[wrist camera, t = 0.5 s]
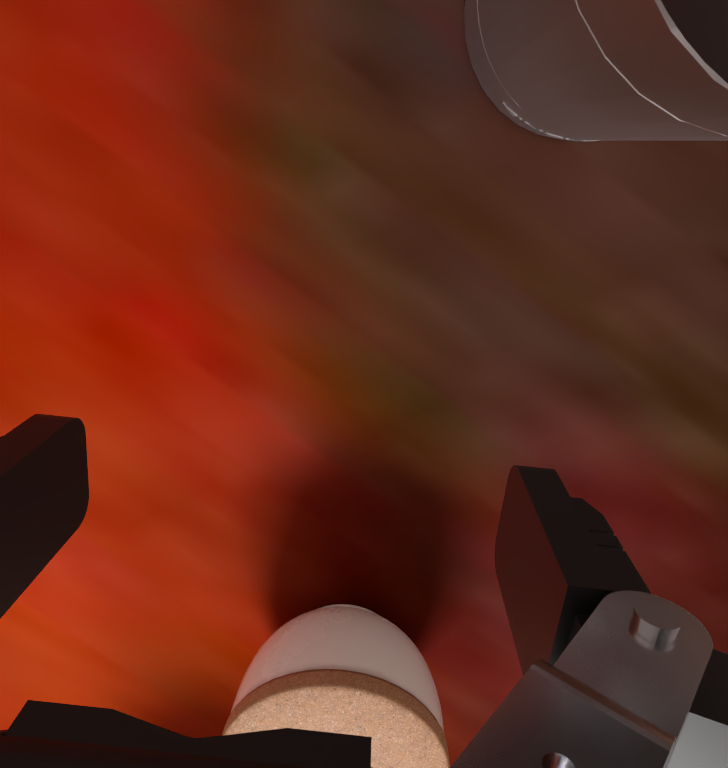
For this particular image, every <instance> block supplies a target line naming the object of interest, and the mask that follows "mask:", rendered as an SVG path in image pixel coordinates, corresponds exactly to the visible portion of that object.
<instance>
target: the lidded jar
mask: <svg viewBox="0 0 728 768" xmlns="http://www.w3.org/2000/svg"><path fill="white" fill-rule="evenodd" d="M282 728H293V729H302V730H311V731H321V732H330V733H339V734H349V735H358V736H367V737H372V740H371V767H373V768H450V765H449V756H448V747H447V742H446V739H445V736H444V729H443V721H442V713H441V706H440V702H439V698H438V694H437V690H436V687H435V684H434V681H433V678H432V676H431V673H430V670H429V668H428V665H427V664H426V662H425V660H424V658H423V656H422V655H421V653H420V652H419V650H418V648H417V647H416V646H415V644H414V643H413V642H412V641H411V639H410V638H409V637H408V636H407V635H406V634H405V633H404V632H403V631H401V630H400V629H399V628H398V627H397V626H396V625H394V624H393V623H391V622H390V621H388V620H387V619H385V618H383V617H381V616H379V615H378V614H376V613H375V612H373V611H371V610H369V609H367V608H364V607H360V606H356V605H351V604H332V605H327V606H323V607H320V608H318V609H315V610H312V611H309V612H306V613H304V614H301V615H299V616H297V617H295V618H293V619H292V620H290V621H289V622H287V623H286V624H284V625H283V626H282V627H280V628H279V629H278V630H276V631H275V632H274V633H273V634H272V635H271V636H270V638H269V639H268V640H267V641H266V642H265V643H264V644H263V645H262V646H261V648H260V649H259V651H258V652H257V654H256V655H255V657H254V659H253V660H252V662H251V664H250V665H249V667H248V669H247V671H246V673H245V675H244V677H243V680H242V682H241V684H240V687H239V689H238V692H237V695H236V697H235V701H234V704H233V707H232V710H231V713H230V716H229V717H228V719H227V722H226V725H225V727H224V730H223V732H222V736H223V735H231V734H240V733H248V732H257V731H265V730H274V729H282Z"/></svg>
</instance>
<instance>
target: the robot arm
mask: <svg viewBox="0 0 728 768" xmlns="http://www.w3.org/2000/svg"><path fill="white" fill-rule="evenodd" d="M464 24H465V41H466V45H467V49H468V53H469V57H470V61H471V65H472V68H473V70H474V72H475V74H476V76H477V78H478V80H479V82H480V84H481V87H482V89H483V90H484V92H485V93H486V94H487V96H488V97H489V98H490V99H491V101H492V102H493V103H494V104H495V106H496V107H497V108H498V110H500V111H501V112H502V113H503V114H505V115H506V116H507V117H508V118H510V119H511V120H512V121H513V122H515V123H516V124H517V125H519V126H521V127H523V128H525V129H528V130H530V131H532V132H534V133H536V134H538V135H542V136H547V137H552V138H557V139H562V140H570V141H599V140H710V141H728V0H465V7H464ZM88 501H89V486H88V468H87V451H86V434H85V427H84V424H83V422H82V421H81V420H80V419H79V418H72V417H62V416H53V415H43V414H35V415H33V416H32V417H30V418H29V419H27V420H26V421H24V422H23V423H22V424H20V425H19V426H17V427H16V428H14V429H13V430H12V431H10V432H9V433H7V434H6V435H4V436H2V437H0V618H1V617H2V616H3V615H4V614H5V613H6V611H7V610H8V609H9V608H10V607H11V606H12V604H13V603H14V602H15V601H16V600H17V599H18V597H19V596H20V595H21V594H22V593H23V592H24V590H25V589H26V588H27V587H28V586H29V585H30V583H31V582H32V581H33V580H34V579H35V578H36V576H37V575H38V574H39V573H40V572H41V571H42V570H43V568H44V567H45V566H46V565H47V564H48V563H49V561H50V560H51V559H52V558H53V557H54V556H55V554H56V553H57V552H58V551H59V550H60V549H61V547H62V546H63V545H64V544H65V543H66V542H67V540H68V539H69V538H70V537H71V536H72V535H73V533H74V532H75V531H76V530H77V529H78V528H79V526H80V525H81V523H82V521H83V519H84V517H85V514H86V511H87V506H88ZM495 569H496V574H497V578H498V582H499V585H500V589H501V593H502V597H503V601H504V604H505V608H506V612H507V616H508V620H509V623H510V627H511V631H512V635H513V639H514V642H515V646H516V650H517V654H518V658H519V661H520V665H521V669H522V673H523V677H522V678H521V679H520V681H519V682H518V683H517V684H516V686H515V687H514V688H513V689H512V691H511V692H510V693H509V695H508V696H507V697H506V698H505V700H504V701H503V702H502V703H501V705H500V706H499V707H498V708H497V710H496V711H495V712H494V713H493V715H492V716H491V717H490V718H489V720H488V721H487V722H486V723H485V725H484V726H483V727H482V728H481V730H480V731H479V732H478V733H477V735H476V736H475V737H474V738H473V740H472V741H471V742H470V744H469V745H468V746H467V747H466V749H465V750H464V751H463V752H462V754H461V755H460V756H459V757H458V759H457V760H456V761H455V762H454V764H453V765H452V766H451V767H450V768H728V654H725V653H722V652H719V651H717V650H715V649H713V644H712V640H711V637H710V635H709V633H708V632H707V630H706V629H705V627H704V626H703V625H702V624H701V623H700V622H699V621H698V620H697V619H696V618H695V617H694V616H693V615H691V614H690V613H689V612H687V611H686V610H684V609H683V608H681V607H680V606H678V605H676V604H674V603H672V602H670V601H668V600H666V599H663V598H661V597H658V596H655V595H652V594H651V593H650V591H649V589H648V588H647V586H646V584H645V583H644V581H643V580H642V578H641V576H640V575H639V573H638V571H637V570H636V568H635V567H634V565H633V563H632V562H631V560H630V558H629V557H628V555H627V553H626V552H625V551H623V547H622V545H621V544H620V542H619V540H618V539H617V537H616V536H614V532H613V531H612V529H611V527H610V526H609V524H608V522H607V521H606V519H605V518H604V516H603V515H602V514H601V513H600V512H599V511H597V510H596V509H595V508H593V507H592V506H591V505H590V504H588V503H587V502H586V501H585V500H583V499H582V498H573V497H570V496H569V494H568V492H567V490H566V488H565V487H564V485H563V483H562V481H561V479H560V477H559V476H558V474H557V472H556V471H555V470H554V469H546V468H536V467H527V466H517V465H514V466H513V467H512V468H511V470H510V473H509V476H508V481H507V486H506V491H505V496H504V501H503V506H502V511H501V516H500V521H499V526H498V531H497V537H496V543H495ZM371 740H372V737H367V736H358V735H349V734H339V733H330V732H321V731H311V730H302V729H293V728H282V729H274V730H265V731H257V732H248V733H240V734H231V735H223V736H214V737H206V738H190V737H186V736H183V735H180V734H178V733H175V732H172V731H170V730H167V729H164V728H162V727H159V726H156V725H154V724H151V723H148V722H146V721H143V720H140V719H137V718H135V717H132V716H129V715H127V714H124V713H121V712H119V711H116V710H113V709H106V708H97V707H88V706H79V705H69V704H60V703H51V702H41V701H32V700H28V701H27V702H26V704H25V705H24V707H23V708H22V710H21V711H20V713H19V714H18V716H17V717H16V719H15V720H14V722H13V723H12V725H11V726H10V728H9V729H8V730H1V731H0V768H373V767H371Z"/></svg>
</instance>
